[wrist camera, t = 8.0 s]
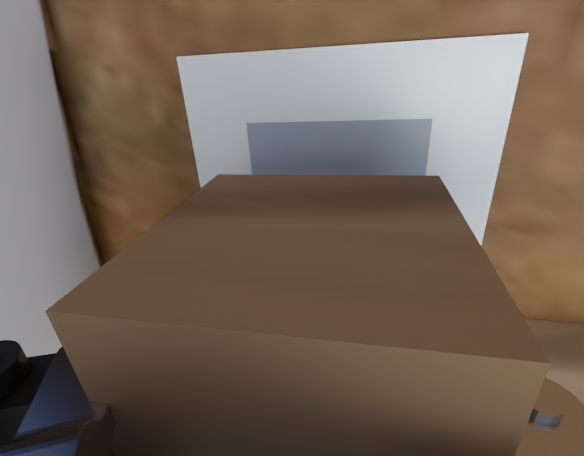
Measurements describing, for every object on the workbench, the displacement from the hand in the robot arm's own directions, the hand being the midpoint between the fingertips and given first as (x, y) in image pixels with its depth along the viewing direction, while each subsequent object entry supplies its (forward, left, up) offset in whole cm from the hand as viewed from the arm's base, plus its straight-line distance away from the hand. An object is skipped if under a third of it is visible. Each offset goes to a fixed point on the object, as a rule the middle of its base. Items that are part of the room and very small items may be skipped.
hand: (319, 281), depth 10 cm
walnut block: (0, 0, -1) cm, 1 cm away
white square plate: (0, 0, -6) cm, 6 cm away
